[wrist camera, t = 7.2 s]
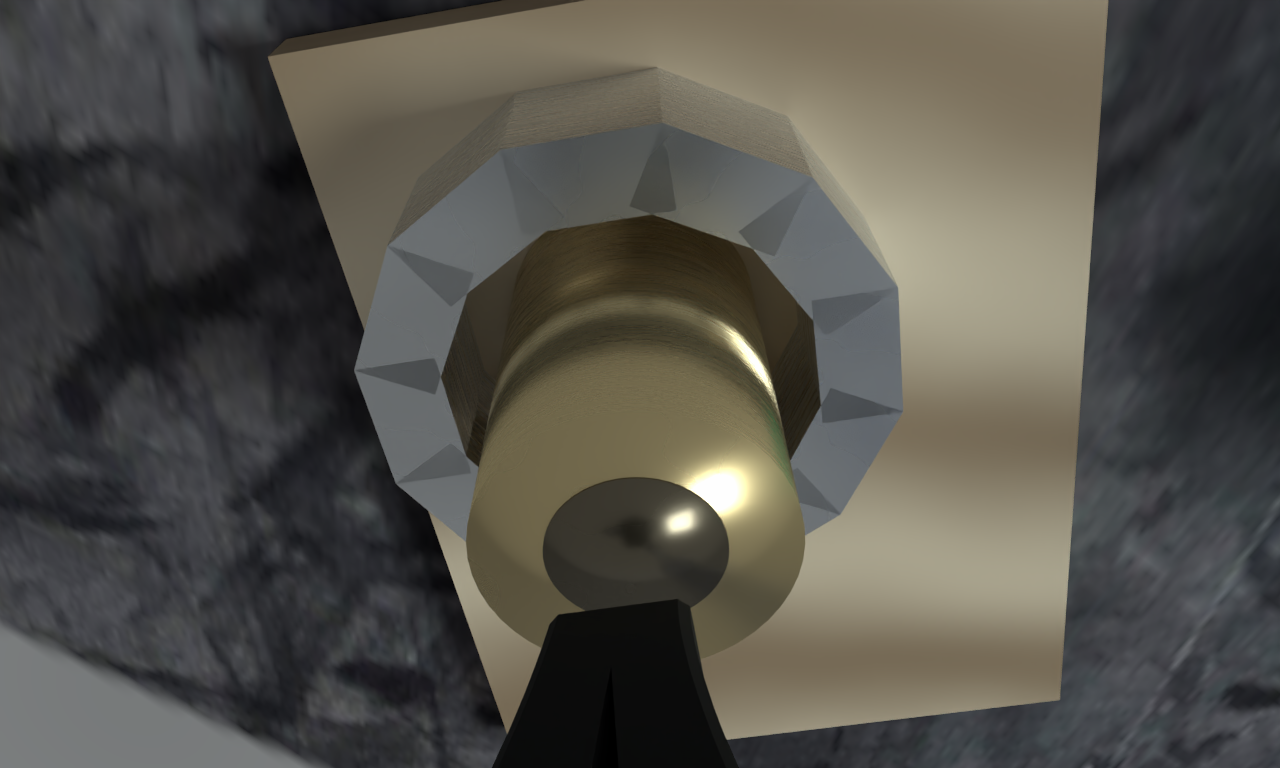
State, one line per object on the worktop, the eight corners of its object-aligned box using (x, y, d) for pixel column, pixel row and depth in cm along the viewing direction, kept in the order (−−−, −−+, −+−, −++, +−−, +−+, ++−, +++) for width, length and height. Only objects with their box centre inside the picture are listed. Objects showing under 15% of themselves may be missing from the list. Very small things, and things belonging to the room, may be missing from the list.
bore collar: (877, 463, 19) (909, 554, 17) (464, 520, 20) (444, 615, 18) (853, 34, 15) (890, 84, 13) (331, 123, 16) (286, 185, 14)
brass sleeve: (766, 390, 18) (820, 649, 13) (543, 426, 19) (512, 691, 14) (736, 176, 16) (787, 385, 11) (485, 221, 17) (422, 444, 11)
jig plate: (1044, 665, 24) (1059, 700, 23) (521, 728, 24) (518, 764, 24) (1087, -105, 15) (1114, -94, 14) (286, 39, 16) (267, 56, 15)
